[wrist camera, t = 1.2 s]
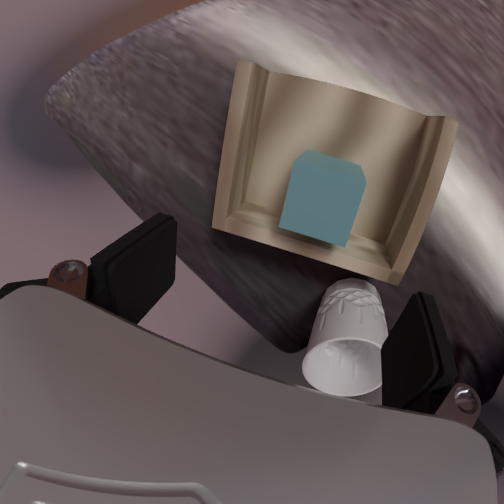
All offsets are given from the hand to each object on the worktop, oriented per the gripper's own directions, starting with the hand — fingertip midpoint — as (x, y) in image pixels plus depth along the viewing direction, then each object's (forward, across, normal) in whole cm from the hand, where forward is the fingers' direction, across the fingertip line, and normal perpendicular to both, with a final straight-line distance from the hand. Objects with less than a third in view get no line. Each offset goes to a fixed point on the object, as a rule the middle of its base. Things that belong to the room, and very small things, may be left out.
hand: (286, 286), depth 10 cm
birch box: (+18, -1, -2) cm, 18 cm away
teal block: (+17, -1, 0) cm, 17 cm away
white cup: (+18, -7, +12) cm, 23 cm away
